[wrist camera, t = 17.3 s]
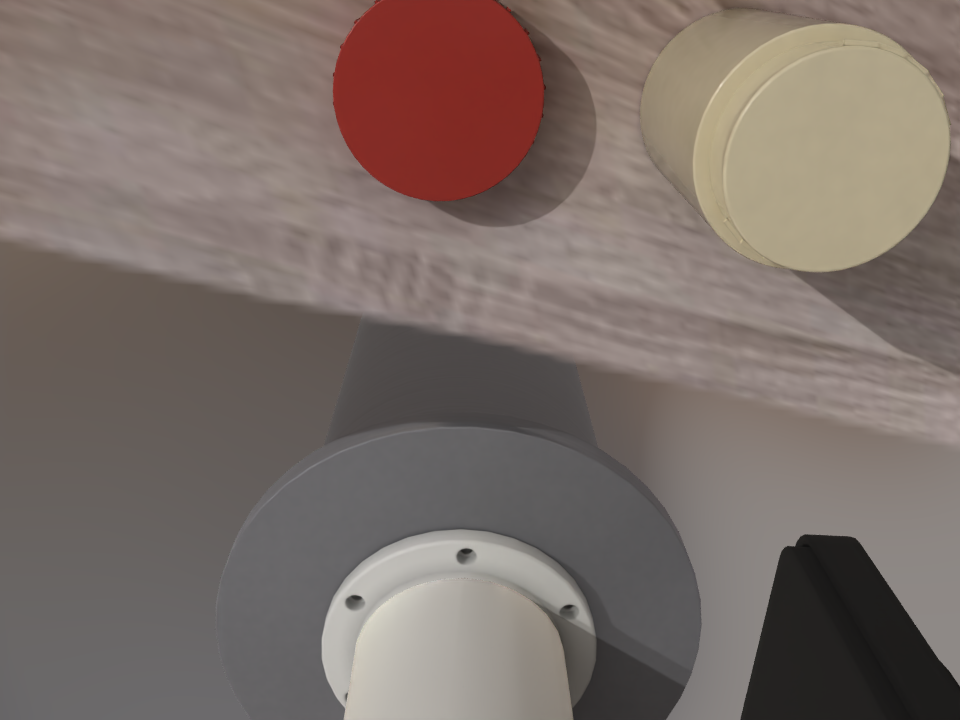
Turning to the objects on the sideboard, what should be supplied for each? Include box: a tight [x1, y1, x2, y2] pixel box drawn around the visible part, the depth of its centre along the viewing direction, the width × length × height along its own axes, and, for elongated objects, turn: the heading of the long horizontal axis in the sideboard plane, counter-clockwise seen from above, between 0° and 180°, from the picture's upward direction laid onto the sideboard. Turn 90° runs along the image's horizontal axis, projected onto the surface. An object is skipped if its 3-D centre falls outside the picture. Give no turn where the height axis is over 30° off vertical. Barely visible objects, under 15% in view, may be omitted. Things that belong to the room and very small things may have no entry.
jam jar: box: [640, 8, 951, 272], centre depth 27 cm, size 6×6×10 cm
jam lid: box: [333, 0, 546, 201], centre depth 30 cm, size 7×7×2 cm
